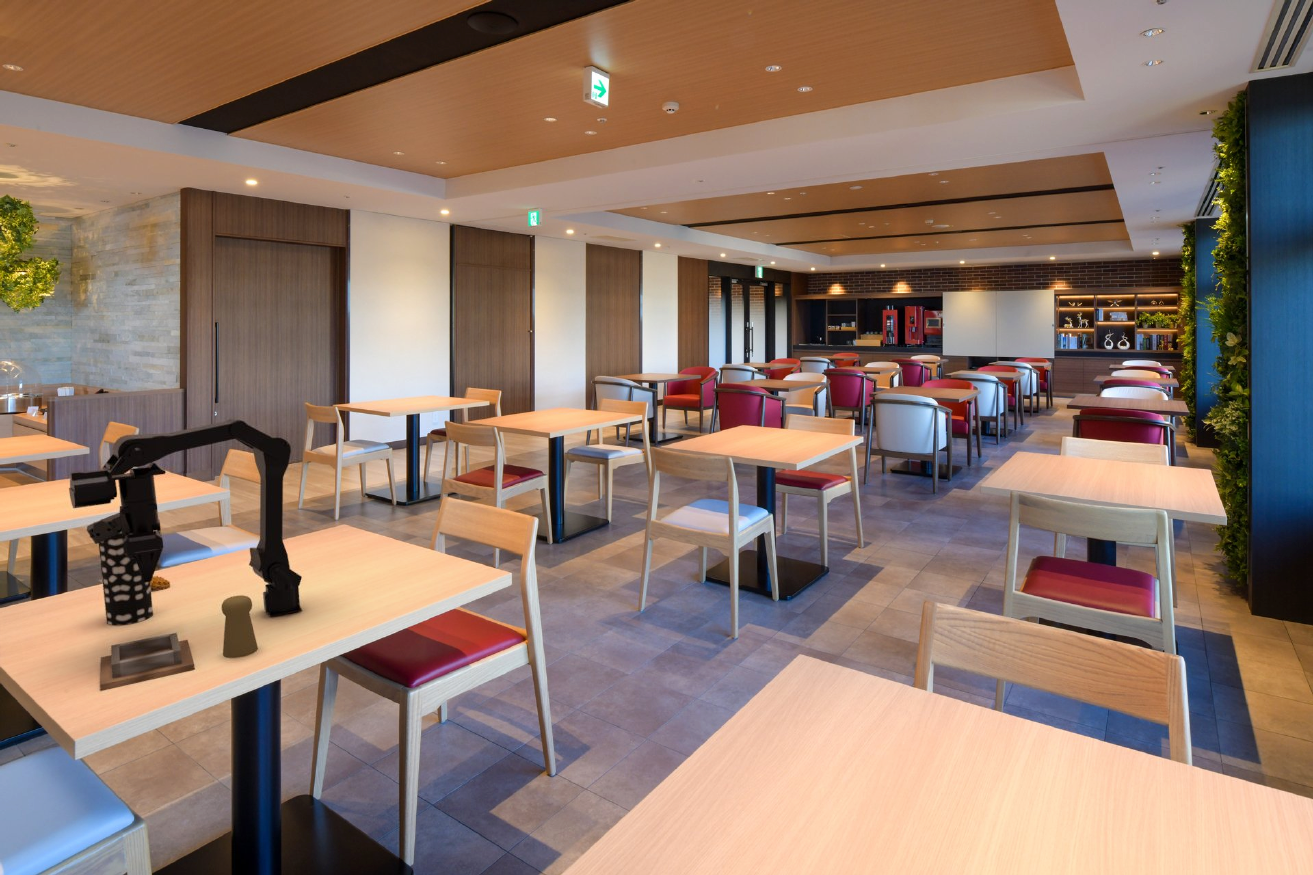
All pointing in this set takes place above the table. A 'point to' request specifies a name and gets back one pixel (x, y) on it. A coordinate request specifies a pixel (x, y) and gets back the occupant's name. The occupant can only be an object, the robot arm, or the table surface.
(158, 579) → the ornament
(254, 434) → the robot arm
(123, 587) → the white-spotted black cylinder
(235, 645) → the cork
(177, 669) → the shaker holder
